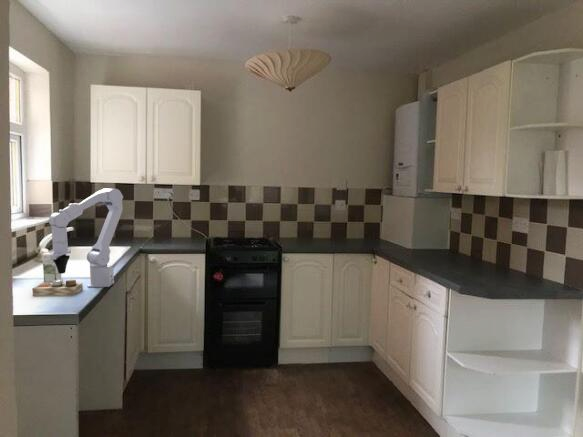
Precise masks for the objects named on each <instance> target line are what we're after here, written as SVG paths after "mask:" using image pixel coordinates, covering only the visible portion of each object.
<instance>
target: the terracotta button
mask: <svg viewBox="0 0 583 437" xmlns="http://www.w3.org/2000/svg"><path fill="white" fill-rule="evenodd" d="M38 285H39V286H40V287H49V286H50V283H44V282H42V283H39V284H38Z"/></svg>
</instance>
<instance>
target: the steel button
mask: <svg viewBox="0 0 583 437" xmlns="http://www.w3.org/2000/svg"><path fill="white" fill-rule="evenodd" d="M52 283H53V287H62V286H63V283H64V280H63V279H62V280H54V281H52Z"/></svg>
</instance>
